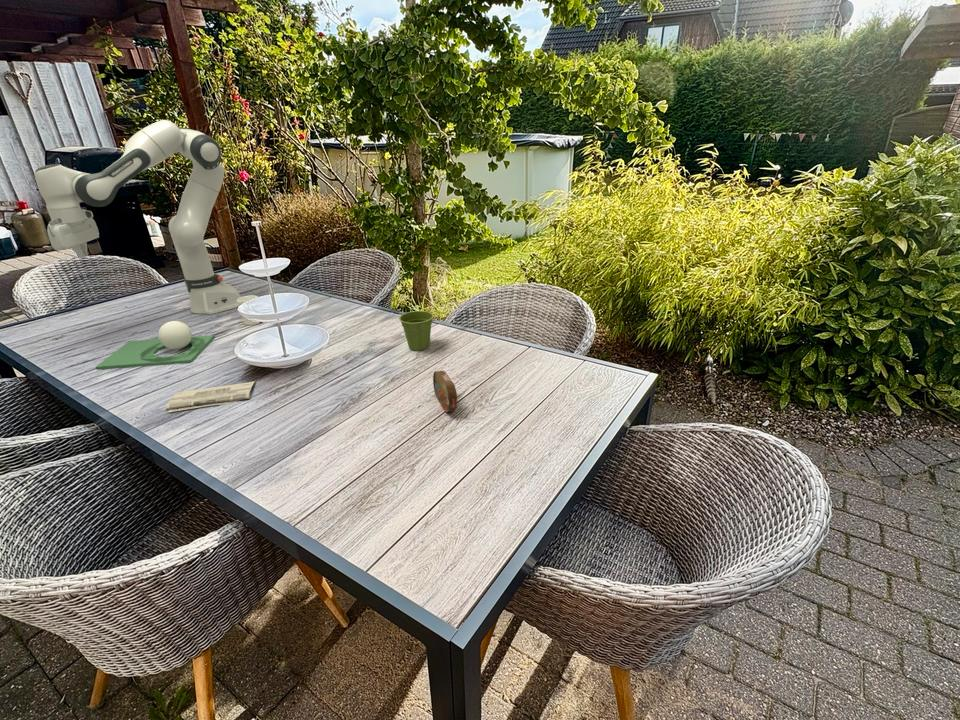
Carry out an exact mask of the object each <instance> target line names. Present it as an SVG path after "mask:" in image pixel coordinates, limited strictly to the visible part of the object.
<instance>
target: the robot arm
mask: <svg viewBox="0 0 960 720" xmlns="http://www.w3.org/2000/svg"><path fill="white" fill-rule="evenodd" d="M176 153H177V154H179V155H181V156H183V157H184V158H186V159H188V160H189V161H191V162H192V171H191V173H190V176H189V178H188V180H187V183H186V185H185V188H184V191H183V192H182V194H181V198H180V202H179V206H178V210H177V213H176V214H175V215H174V216H172V217H171V218H170V220H169V221H168V230H169V234H170V236H171V239H172V243H173V246H174V249H175V252H176V255H177V258H178V260H179V263H180V267H181V270H182V274H183V276H184V279H183V280H184V284H185V288H186V290H187V292H188V294H189V295H188V296H189V303H190V312H191V313H192V314H200V315H201V314H207V315H214V314H217V313H221V312H225V311H229V310H233V309H236V308H238V307H237V306H238V303H237V299H238V298H240V297H244V296H243V295H240V292H239V290H238V289H237V288H236V287H235V286H232V285H230V284H228V283H226V282H223V281H224V278H223V276H222V275H220V274H218V273H215V272H214V268H213V265H212V262H211V259H210V258H211V257H210V255H209V252H208V249H207V246H206V244H205V239H204V238H205V237H204V236H205V234H206V232H207V228H208V225H209V222H210V218H211V215H212V210H213V208H214V206H215V203H216V201H217V198H218V196H219V193H220V191H221V188H222V185H223V181H224V178H225V169H224V166H223V165H222V164H221V157H222V150H221V146H220V145H219V143H218V142H217V141H216V140H215V139H214V138H213V137H211V135H207V134H205V133H203V132H201V131H199V130H194V129H191V128H189V127H178V126H177V124H175V123H174V122H172V121H170V120H168V119H161V120H157V121H156V122H154V123H150V124H149V125H147V126H145V127H143V128H142V129H140V130H138V131H137V132H135V133H134V134H133V135H132V136H131V137H130V138H129V139H127V141H126V142H125V143H124V152H123V154H122V155H121V157H120V158H119V159H117V160H116V161H114V162H112V164H111V165H109V166H107V167H106V168H105V169H103V170H102V171H99V172H96V173H87V172H84V171H83V172H82V171H78V170H75V169H73V168H69V167H67V166H63V165H62V164H59V163H52V164H46V165H43V166H40V167H38V168H37V169H36V170H35V171H34V179H35V182H36V186H37V188H38V191H39V194H40V196H41V197H42V199H43V200H44V202H45V206H46V207H45V208H46V211H47V213H48V215H49V217H50V221H48V225H47V235H48V238H49V241H50V244H51V247H52V249H53V250H55V251H65V250H69V249H71V250H72V251H73V252H74V253H75V254H76V255H77V258H78V259H84V258H87V257H88V256H89V253H88V244H87V243H88V242H90V241H93V240H96V239H99V238H100V232H99V228H98V226H97V223H96V221H95V220H94V214H93V212H92V211H91V210H87V209H83V208H81V205H80V204H81V203H84V204H86V205H89V206H91V207H95V208H102V207H107V206H108V205H110V204H112V202H113V201H114V199H115V197H116V194H117V193H118V192H119V189H120V188H122V187H123V186H124V185H125V184H127V183H128V182H129V181H131V180H132V179H133V178H135V177H136V176H137V175H139V174H140V173H142V172H144V171H146V170H148V169H151V168H153V167H154V166H157V165H159V164H160V163H162V162H164V161H166V160H167V159H168V158H170V157H171V156H172V155H174V154H176Z"/></svg>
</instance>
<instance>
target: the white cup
mask: <svg viewBox="0 0 960 720" xmlns="http://www.w3.org/2000/svg"><path fill="white" fill-rule="evenodd" d="M255 298H259V296H258V295H256V294H255V295H244V296H243V297H240V298H238V299H237V303H238V306H240V305H242V304H243V303H245V302H247V301H249V300H252V299H255ZM241 318H242V320H243V323H244V325H246V326H254V325H258V324H260V323H258V322H253V321H251V320H248V319H245V318H244V317H242V316H241Z"/></svg>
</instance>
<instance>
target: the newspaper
mask: <svg viewBox="0 0 960 720" xmlns="http://www.w3.org/2000/svg"><path fill="white" fill-rule="evenodd" d="M256 383H257V382H256V381H248V382H241V383H234V384H225V385H218V386H213V387H205V388H203V387H202V388H198V389H197V388H196V389H191V390H190V389H189V390H184V391H183V390H182V391H176V392H175V393H174V394H173V396H172V397H171V398H170V400H169V401H168V403H167V404H166V406H165V409H166V410H167V413H172V412H173V413H174V412H180V411H186V410H192V409H197V408H198V409H199V408H204V407H210V406H221V405H229V404H233V403H237V402H241V401H243V400H248V399H251V395H252V393H251V390H252V387H253V385H254V384H256ZM197 405H198V406H197ZM190 406H191V407H190ZM177 408H178V409H177Z"/></svg>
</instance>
